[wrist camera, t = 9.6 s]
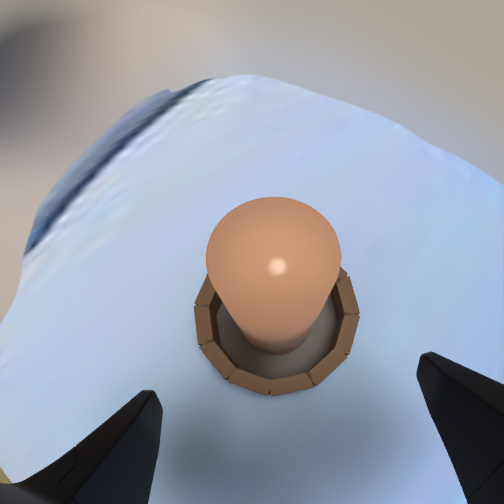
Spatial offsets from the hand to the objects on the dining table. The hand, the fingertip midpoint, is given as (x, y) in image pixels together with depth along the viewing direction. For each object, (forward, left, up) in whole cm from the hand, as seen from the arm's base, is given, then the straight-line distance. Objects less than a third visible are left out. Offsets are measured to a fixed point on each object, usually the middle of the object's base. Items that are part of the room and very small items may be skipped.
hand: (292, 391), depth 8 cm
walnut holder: (+2, -4, -12) cm, 13 cm away
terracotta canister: (+2, -4, -11) cm, 12 cm away
